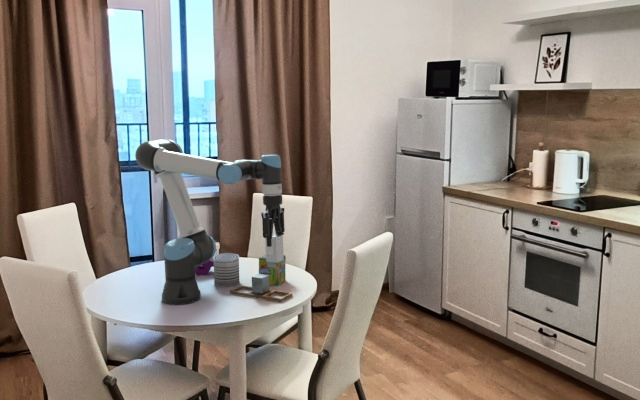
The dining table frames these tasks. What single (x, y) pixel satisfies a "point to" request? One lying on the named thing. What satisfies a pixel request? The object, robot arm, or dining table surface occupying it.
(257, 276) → the gray square block
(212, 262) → the mounting bracket
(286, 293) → the wooden ladder rack
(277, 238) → the grey square block
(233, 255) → the can
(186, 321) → the dining table surface
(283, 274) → the chalk box
